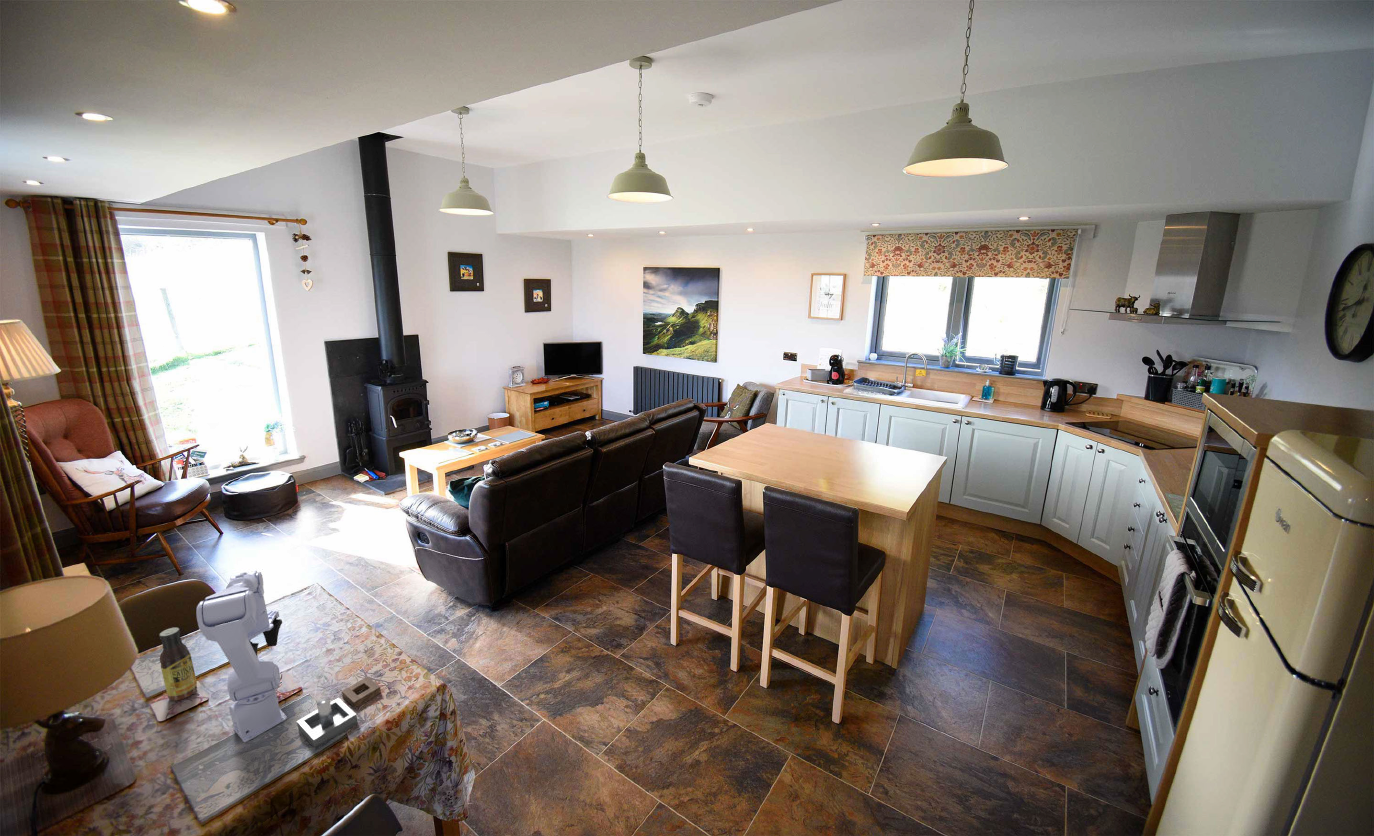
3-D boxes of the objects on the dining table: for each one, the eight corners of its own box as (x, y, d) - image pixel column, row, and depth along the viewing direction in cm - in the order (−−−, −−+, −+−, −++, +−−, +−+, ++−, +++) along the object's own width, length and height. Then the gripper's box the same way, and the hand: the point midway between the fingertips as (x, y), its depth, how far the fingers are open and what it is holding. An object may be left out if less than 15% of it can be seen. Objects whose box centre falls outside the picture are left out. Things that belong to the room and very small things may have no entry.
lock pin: (323, 730, 140) (319, 707, 138) (319, 724, 141) (314, 702, 139) (335, 723, 142) (331, 701, 140) (331, 718, 143) (327, 696, 142)
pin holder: (354, 708, 148) (353, 702, 148) (342, 697, 152) (341, 691, 151) (381, 692, 154) (380, 686, 153) (368, 682, 157) (367, 676, 157)
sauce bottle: (180, 704, 149) (163, 642, 144) (162, 700, 150) (144, 638, 145) (205, 686, 155) (189, 626, 150) (187, 683, 156) (171, 623, 151)
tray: (315, 749, 135) (313, 740, 134) (298, 730, 141) (296, 721, 140) (357, 723, 143) (356, 714, 142) (340, 706, 149) (338, 697, 148)
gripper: (248, 629, 143) (259, 672, 146) (286, 597, 157) (294, 637, 160) (221, 629, 142) (232, 673, 146) (261, 597, 156) (270, 637, 160)
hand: (263, 654), depth 153 cm, fingers open, 7 cm apart
